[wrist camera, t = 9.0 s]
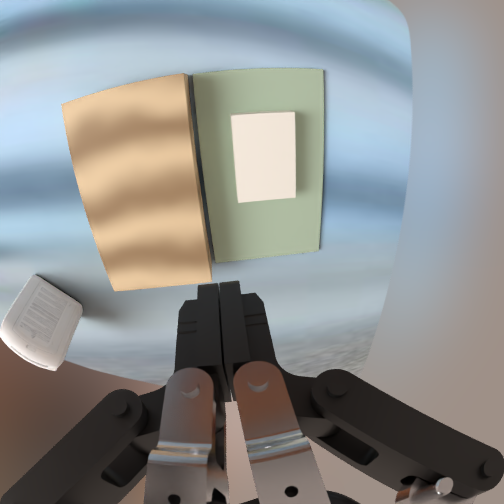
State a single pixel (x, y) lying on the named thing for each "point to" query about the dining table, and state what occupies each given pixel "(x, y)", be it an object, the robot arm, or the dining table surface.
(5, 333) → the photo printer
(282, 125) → the cream tile
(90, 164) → the board
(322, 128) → the sage mat
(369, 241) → the dining table surface
